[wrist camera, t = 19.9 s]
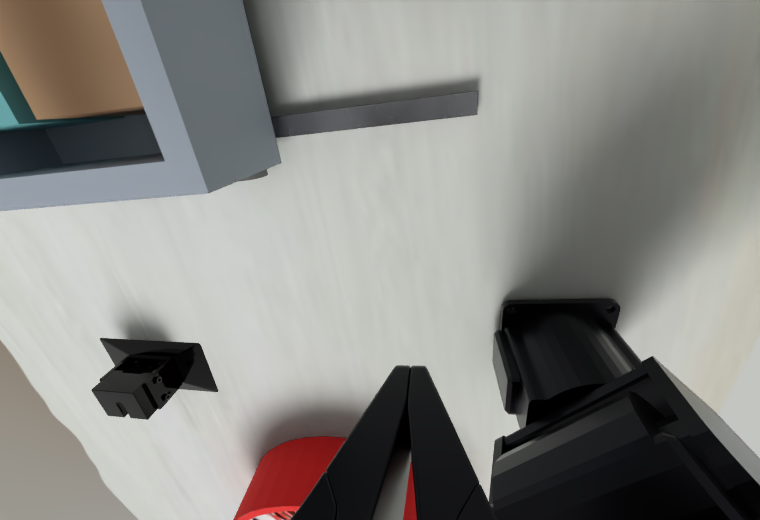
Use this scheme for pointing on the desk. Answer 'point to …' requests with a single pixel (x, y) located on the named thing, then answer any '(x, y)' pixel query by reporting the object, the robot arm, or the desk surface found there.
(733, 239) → the desk surface
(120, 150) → the box
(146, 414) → the black plastic bracket
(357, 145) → the desk surface
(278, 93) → the desk surface
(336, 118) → the rails
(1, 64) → the teal block
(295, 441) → the toy clock
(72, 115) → the tan cube
